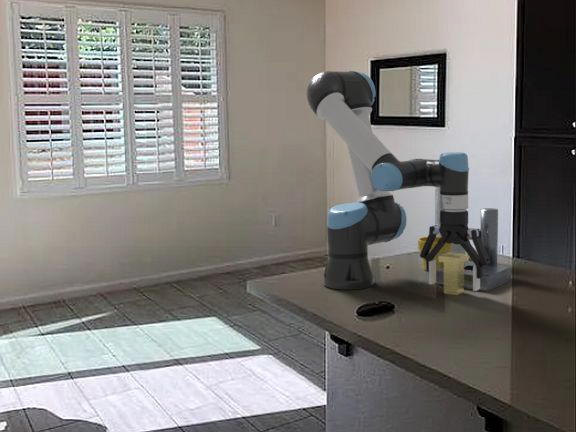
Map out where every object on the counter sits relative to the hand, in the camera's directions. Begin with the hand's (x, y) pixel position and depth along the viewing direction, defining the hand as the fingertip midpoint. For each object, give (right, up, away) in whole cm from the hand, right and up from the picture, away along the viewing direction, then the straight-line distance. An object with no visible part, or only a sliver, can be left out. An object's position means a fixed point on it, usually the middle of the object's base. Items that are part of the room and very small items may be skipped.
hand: (454, 286), depth 186 cm
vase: (+10, +5, +44) cm, 46 cm away
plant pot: (+1, +2, +28) cm, 29 cm away
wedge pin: (0, -2, 0) cm, 2 cm away
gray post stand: (+10, +1, +13) cm, 17 cm away
